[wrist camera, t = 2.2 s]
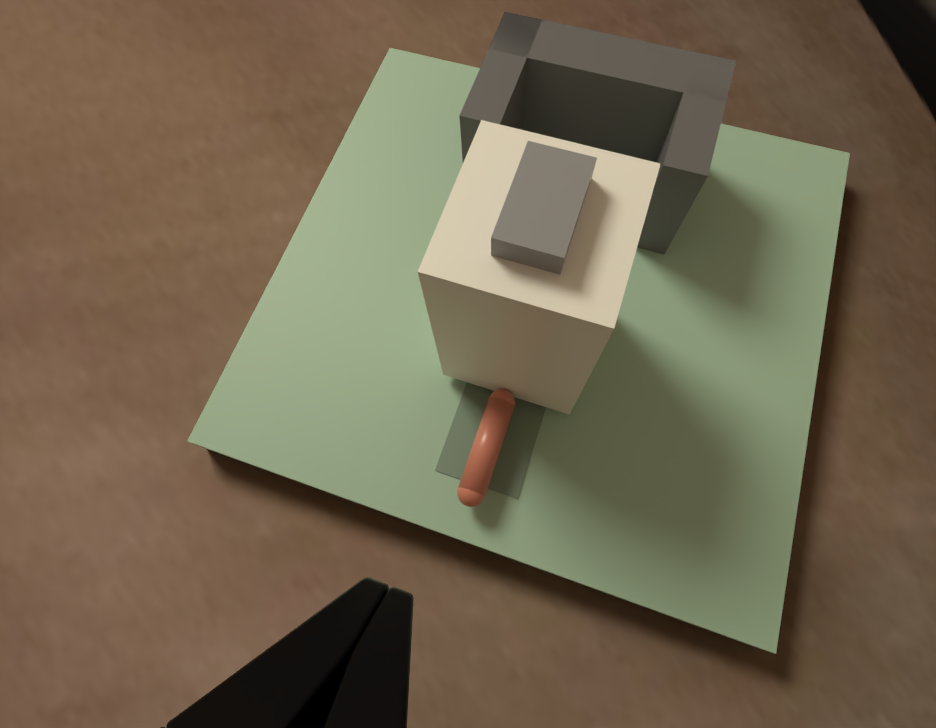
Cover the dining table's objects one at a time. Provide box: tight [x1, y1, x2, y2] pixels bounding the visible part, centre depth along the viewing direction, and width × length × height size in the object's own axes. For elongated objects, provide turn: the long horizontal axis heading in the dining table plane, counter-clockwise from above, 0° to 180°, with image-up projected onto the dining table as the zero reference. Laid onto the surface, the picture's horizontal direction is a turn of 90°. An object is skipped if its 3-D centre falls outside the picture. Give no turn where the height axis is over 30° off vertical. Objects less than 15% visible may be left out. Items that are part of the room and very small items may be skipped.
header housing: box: [459, 12, 736, 255], centre depth 22 cm, size 5×9×5 cm, turn 71°
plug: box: [418, 120, 660, 507], centre depth 17 cm, size 9×5×9 cm, turn 161°
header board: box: [188, 48, 850, 654], centre depth 23 cm, size 21×22×2 cm
